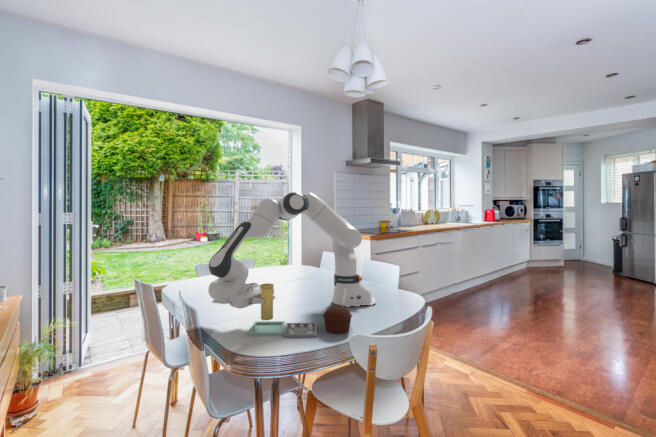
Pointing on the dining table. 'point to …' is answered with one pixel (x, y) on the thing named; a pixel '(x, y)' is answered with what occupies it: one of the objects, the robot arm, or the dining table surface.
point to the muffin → (337, 319)
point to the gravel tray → (300, 330)
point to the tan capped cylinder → (267, 301)
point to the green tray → (267, 328)
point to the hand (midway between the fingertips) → (268, 299)
